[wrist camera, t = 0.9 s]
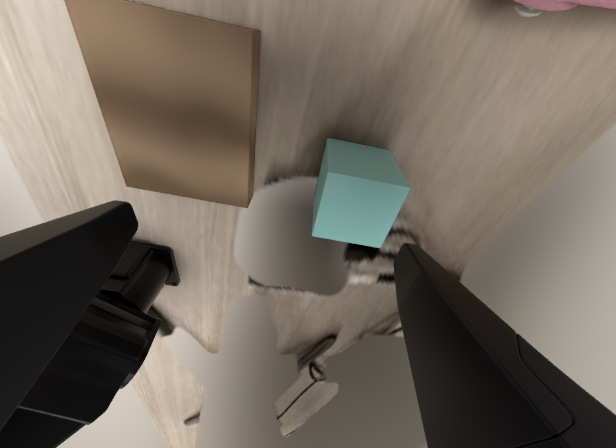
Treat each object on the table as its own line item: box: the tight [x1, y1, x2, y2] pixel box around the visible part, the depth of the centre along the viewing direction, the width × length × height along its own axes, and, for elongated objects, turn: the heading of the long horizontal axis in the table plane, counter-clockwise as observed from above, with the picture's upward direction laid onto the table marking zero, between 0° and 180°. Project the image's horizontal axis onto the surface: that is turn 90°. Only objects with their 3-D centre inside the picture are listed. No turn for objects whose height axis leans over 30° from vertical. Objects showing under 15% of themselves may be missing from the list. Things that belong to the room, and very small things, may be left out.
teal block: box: [312, 138, 411, 248], centre depth 18 cm, size 5×5×6 cm
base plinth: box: [64, 0, 260, 208], centre depth 17 cm, size 12×10×2 cm
